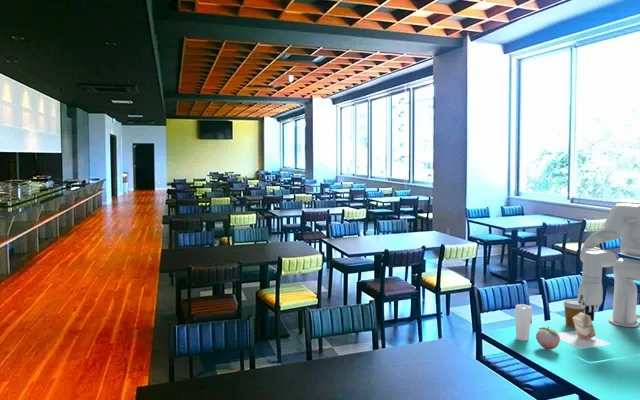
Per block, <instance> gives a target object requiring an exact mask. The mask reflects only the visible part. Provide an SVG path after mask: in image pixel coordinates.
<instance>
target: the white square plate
mask: <svg viewBox="0 0 640 400" xmlns="http://www.w3.org/2000/svg"><path fill="white" fill-rule="evenodd" d="M557 333H558V334H559V336H560V341H561V342H564V343H566V344H568V345H570V346H572V347H575V348H577V349H579V350H584V349H591V348H598V347H602V346H603V347H605V346H610V345H611V346H612V344H611V343H610V342H607V341H605V340H603V339H600V338H597V337H596V336H594V337H592V338H591V339H589V340H588V341H587V340H585V339H582V338H580V337H578V334H577V331H576V330H570V331H563V332H562V331H561V332H557Z"/></svg>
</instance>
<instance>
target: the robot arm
mask: <svg viewBox="0 0 640 400" xmlns="http://www.w3.org/2000/svg"><path fill="white" fill-rule="evenodd" d="M620 238H621V239H620ZM619 239H620V245H619V246H620V247H619V250H620V251H619V252H620V253H621V254H622V255H624V256H626V257H627V256H628V257H633V258H638V259H640V200H636V199H620V200H618V201H617V202H616V203H615V204H613V205H612V207H611V208H610V210H609V213H608V215H607V217H606V220H605V222H604V224H603V227H602V228H600V229H599V230H597V231H595V232H593V233H592V234H591V235H589V236H588V237H587V238H586V239H585V240H584V243H583V245H582V247H581V249H580V252H579V259H580V261H581V262H582V274H581V275H582V276H581V281H580V284H579V286H578V287H579V288H578V292H577V298H576V300H577V302H578V303H579V304H580V308H583V309H584V314H587V315H590V317H591V321H592V322H593V321H595V312H596V310H597V308H599V307H601V305H602V303H603V300H604V299H603V295H604V294H603V293H604V292H603V291H604V290H603V283H602V280H603V277H602V276H603V268H610V267H612V270H613V278H614V286H613V288H614V289H613V304H612V316H611V317H609V318H608V322H609V323H610V324H613V325H615V326H619V327H625V328H637V327H639V326H640V323H639V321H637V320H638V319H640V314H639V313H638V314H637V302H638V301H637V299H638V287H637V284H636V282H635V281H638V282H640V260H637V259H632V258H617V254H616V253H615V252H614V251H612V250H609V249H602V248H598V247H597V248H596V246H598V245H600V244H602V243H605V242H610V241H614V240H619Z"/></svg>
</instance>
